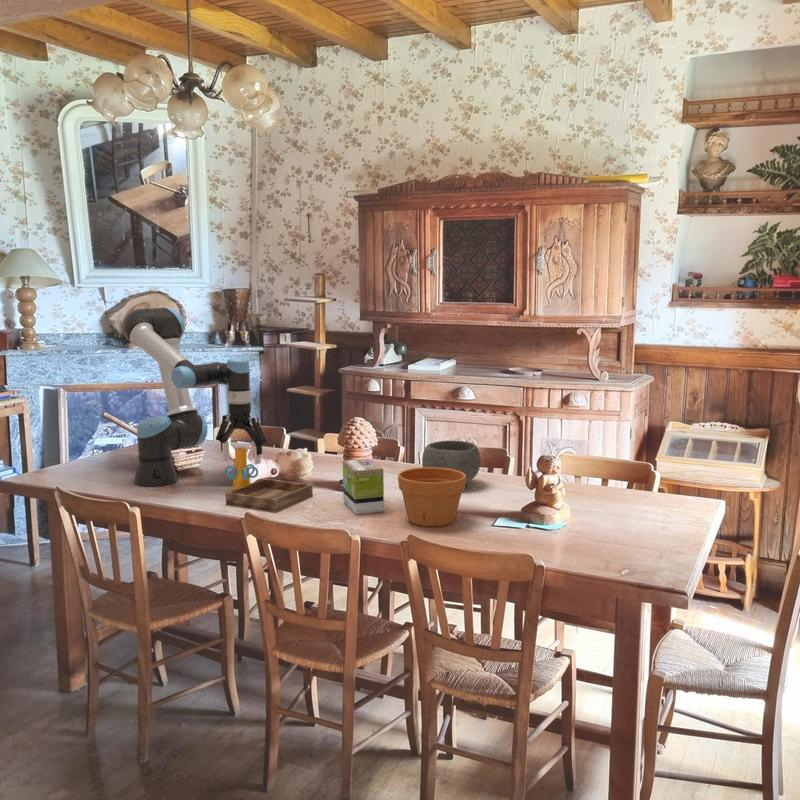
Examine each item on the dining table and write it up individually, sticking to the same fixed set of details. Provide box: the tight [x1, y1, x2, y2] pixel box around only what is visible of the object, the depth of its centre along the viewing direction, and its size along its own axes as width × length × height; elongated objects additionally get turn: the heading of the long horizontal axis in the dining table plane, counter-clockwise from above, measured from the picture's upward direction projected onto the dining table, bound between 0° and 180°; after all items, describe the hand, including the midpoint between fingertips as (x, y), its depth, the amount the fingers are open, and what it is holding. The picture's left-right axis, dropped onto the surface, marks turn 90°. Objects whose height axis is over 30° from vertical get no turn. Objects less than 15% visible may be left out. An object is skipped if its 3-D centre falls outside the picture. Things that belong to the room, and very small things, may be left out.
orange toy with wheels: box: [224, 446, 259, 490], centre depth 296 cm, size 12×10×15 cm
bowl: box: [421, 440, 482, 485], centre depth 302 cm, size 21×21×15 cm
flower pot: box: [397, 467, 466, 528], centre depth 260 cm, size 21×21×15 cm
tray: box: [225, 477, 314, 513], centre depth 283 cm, size 20×22×4 cm
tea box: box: [342, 458, 385, 515], centre depth 274 cm, size 15×10×15 cm, turn 19°
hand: (241, 462), depth 295 cm, fingers open, 13 cm apart
